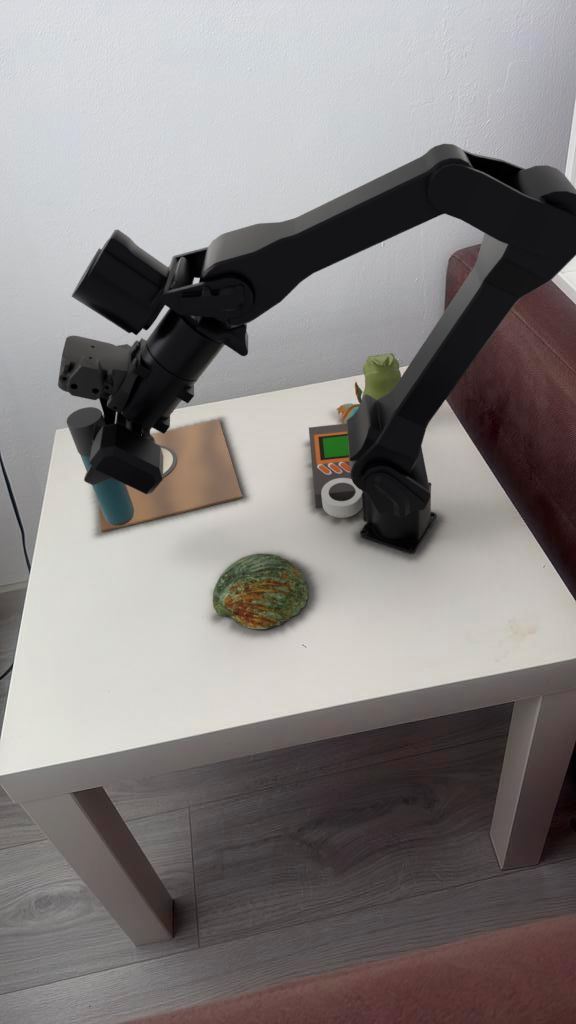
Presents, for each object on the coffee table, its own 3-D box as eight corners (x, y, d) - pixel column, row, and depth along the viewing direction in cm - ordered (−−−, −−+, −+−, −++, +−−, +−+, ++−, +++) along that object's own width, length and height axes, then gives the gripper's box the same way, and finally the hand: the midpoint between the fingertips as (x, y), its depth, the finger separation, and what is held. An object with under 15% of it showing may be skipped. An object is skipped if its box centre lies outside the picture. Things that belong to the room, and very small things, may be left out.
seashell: (318, 577, 71) (222, 617, 69) (323, 607, 74) (231, 646, 72) (280, 522, 79) (192, 556, 77) (286, 551, 81) (201, 584, 79)
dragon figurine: (397, 438, 91) (388, 384, 94) (343, 432, 89) (335, 377, 92) (375, 463, 97) (367, 412, 100) (323, 458, 94) (317, 406, 98)
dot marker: (141, 517, 78) (107, 417, 70) (113, 532, 77) (74, 432, 68) (128, 501, 80) (93, 402, 72) (100, 516, 79) (60, 417, 71)
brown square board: (219, 420, 101) (218, 418, 100) (242, 497, 88) (241, 494, 88) (95, 449, 99) (94, 446, 99) (101, 532, 86) (100, 529, 86)
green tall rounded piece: (366, 438, 94) (363, 370, 87) (359, 415, 98) (355, 348, 91) (409, 432, 94) (409, 363, 87) (401, 408, 98) (400, 341, 91)
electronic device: (315, 507, 82) (308, 423, 92) (317, 525, 84) (310, 441, 94) (376, 501, 81) (361, 417, 92) (376, 519, 83) (362, 435, 94)
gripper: (102, 266, 70) (29, 383, 78) (81, 366, 56) (-5, 497, 64) (200, 328, 75) (123, 431, 83) (203, 433, 62) (110, 547, 69)
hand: (90, 471), depth 74 cm, fingers closed on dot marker, 3 cm apart
